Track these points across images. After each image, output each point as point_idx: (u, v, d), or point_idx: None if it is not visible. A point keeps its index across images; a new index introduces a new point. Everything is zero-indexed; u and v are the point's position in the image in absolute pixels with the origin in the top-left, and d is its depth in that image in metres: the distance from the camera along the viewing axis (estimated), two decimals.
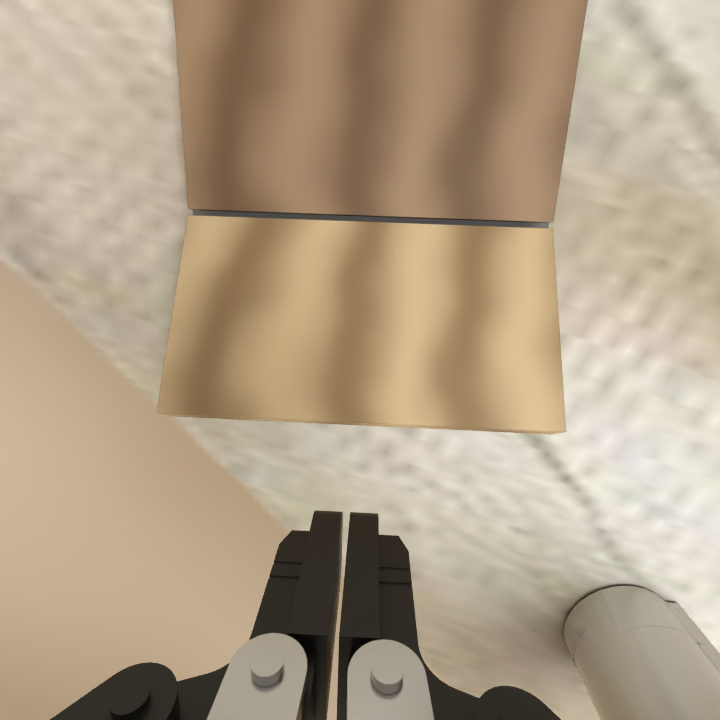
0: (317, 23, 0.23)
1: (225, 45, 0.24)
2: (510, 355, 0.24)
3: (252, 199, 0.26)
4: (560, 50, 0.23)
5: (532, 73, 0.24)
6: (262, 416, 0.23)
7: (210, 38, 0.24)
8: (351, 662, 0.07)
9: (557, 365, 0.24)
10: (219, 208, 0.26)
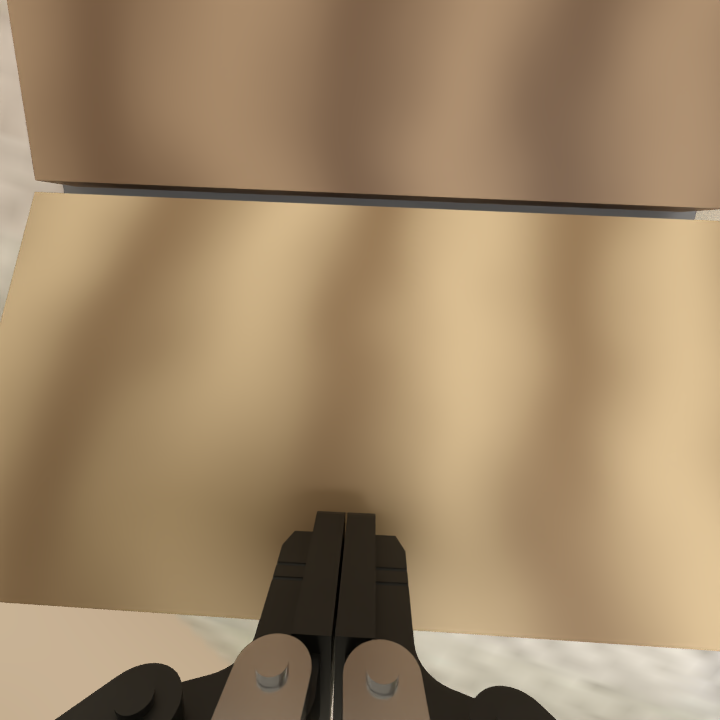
0: None
1: None
2: (661, 479, 0.12)
3: (153, 163, 0.14)
4: None
5: None
6: (147, 609, 0.11)
7: None
8: (347, 662, 0.07)
9: None
10: (92, 179, 0.14)
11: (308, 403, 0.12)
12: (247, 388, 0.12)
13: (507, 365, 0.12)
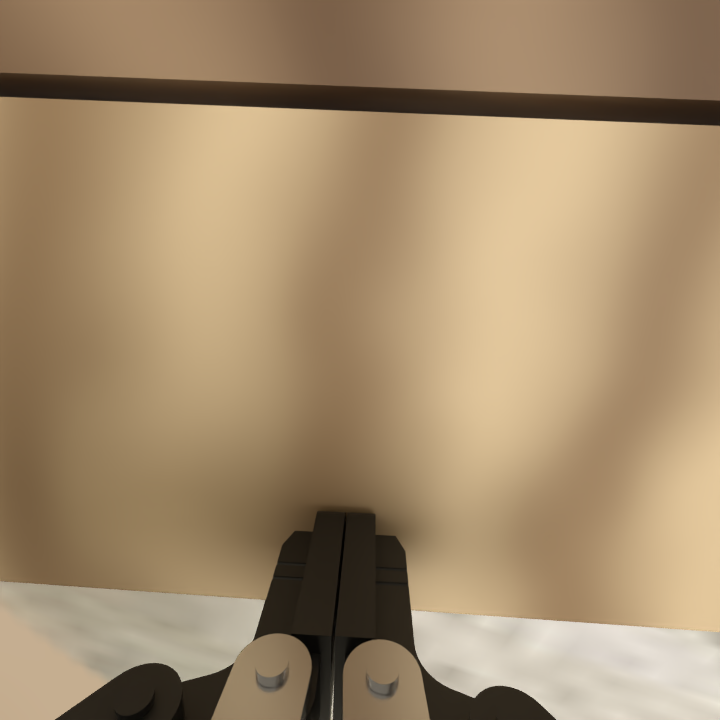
0: None
1: None
2: (699, 500, 0.10)
3: None
4: None
5: None
6: (163, 590, 0.12)
7: None
8: (347, 662, 0.07)
9: None
10: None
11: (295, 419, 0.10)
12: (218, 401, 0.10)
13: (551, 376, 0.09)
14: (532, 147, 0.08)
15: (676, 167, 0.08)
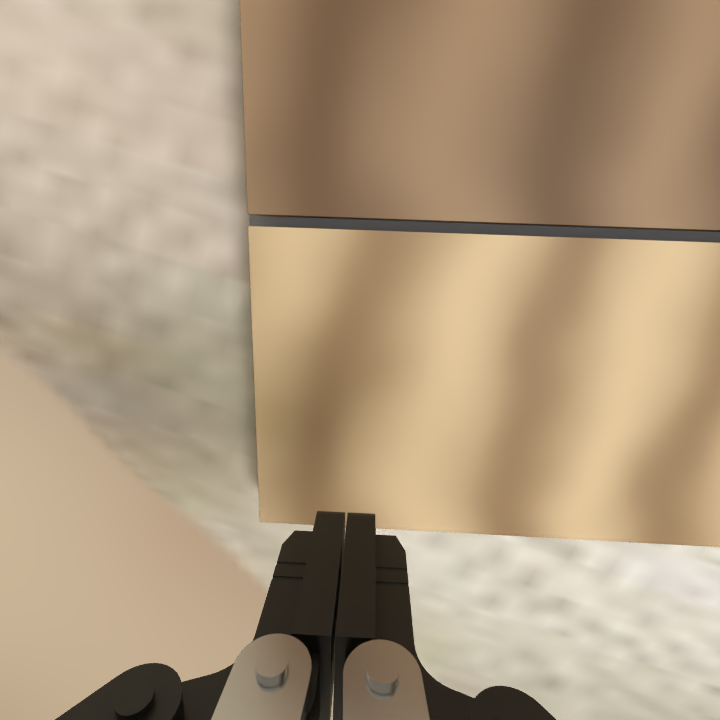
0: None
1: None
2: None
3: (364, 197, 0.14)
4: None
5: None
6: (395, 527, 0.18)
7: None
8: (347, 662, 0.07)
9: None
10: (303, 213, 0.15)
11: (502, 410, 0.16)
12: (455, 400, 0.16)
13: (662, 382, 0.16)
14: (658, 255, 0.15)
15: None
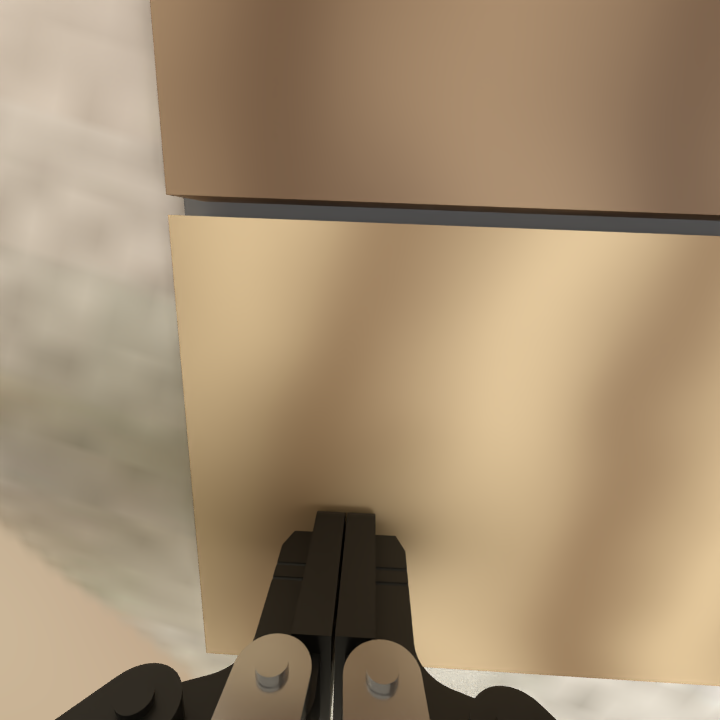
0: None
1: None
2: None
3: (360, 166, 0.09)
4: None
5: None
6: None
7: None
8: (347, 662, 0.07)
9: None
10: (259, 193, 0.09)
11: (574, 504, 0.11)
12: (502, 488, 0.10)
13: None
14: None
15: None
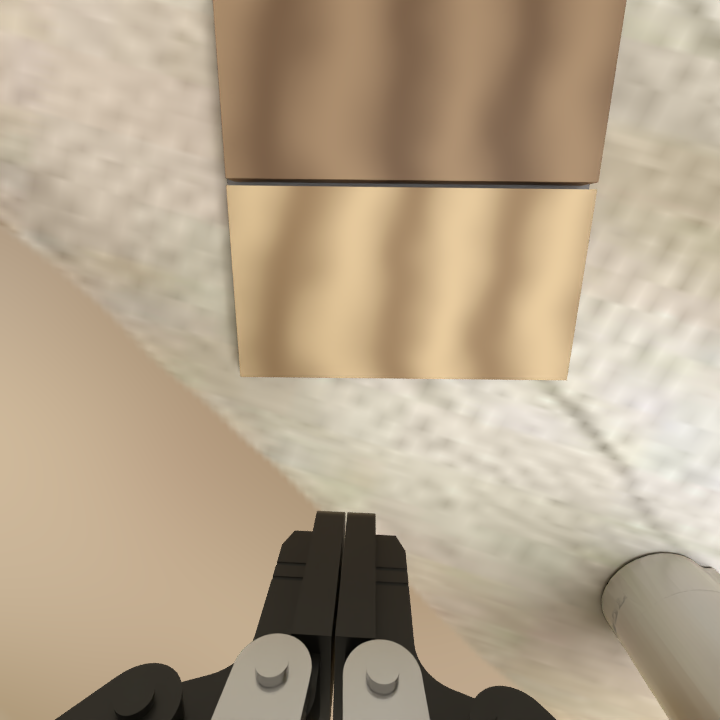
0: None
1: (264, 4, 0.23)
2: (533, 320, 0.28)
3: (292, 166, 0.25)
4: (606, 4, 0.23)
5: (578, 28, 0.23)
6: (326, 376, 0.29)
7: None
8: (347, 662, 0.07)
9: (571, 327, 0.28)
10: (258, 176, 0.25)
11: (383, 295, 0.27)
12: (355, 289, 0.27)
13: (474, 273, 0.27)
14: (461, 196, 0.26)
15: (506, 201, 0.26)
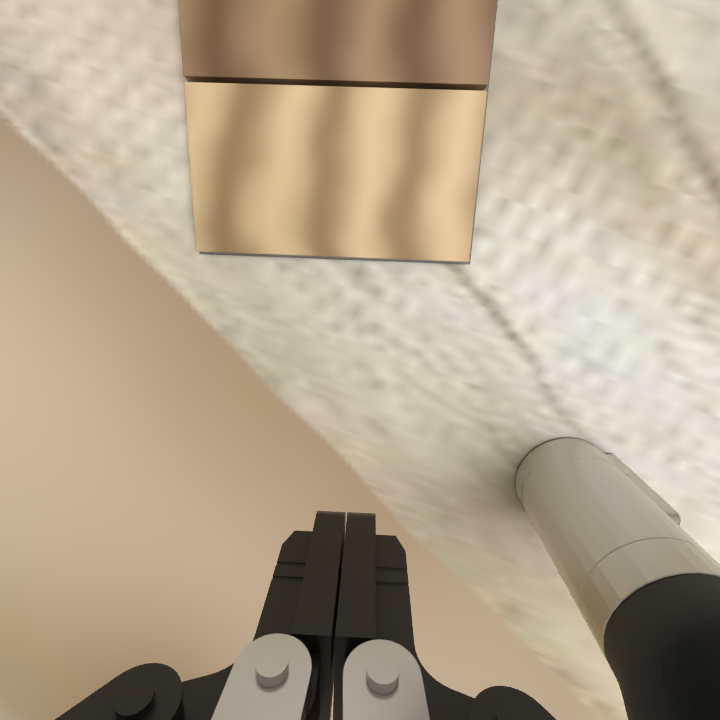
0: None
1: None
2: (438, 206, 0.33)
3: (237, 66, 0.31)
4: None
5: None
6: (267, 253, 0.35)
7: None
8: (347, 662, 0.07)
9: (470, 214, 0.33)
10: (209, 74, 0.31)
11: (313, 180, 0.33)
12: (289, 175, 0.33)
13: (388, 163, 0.32)
14: (375, 95, 0.31)
15: (412, 99, 0.31)
